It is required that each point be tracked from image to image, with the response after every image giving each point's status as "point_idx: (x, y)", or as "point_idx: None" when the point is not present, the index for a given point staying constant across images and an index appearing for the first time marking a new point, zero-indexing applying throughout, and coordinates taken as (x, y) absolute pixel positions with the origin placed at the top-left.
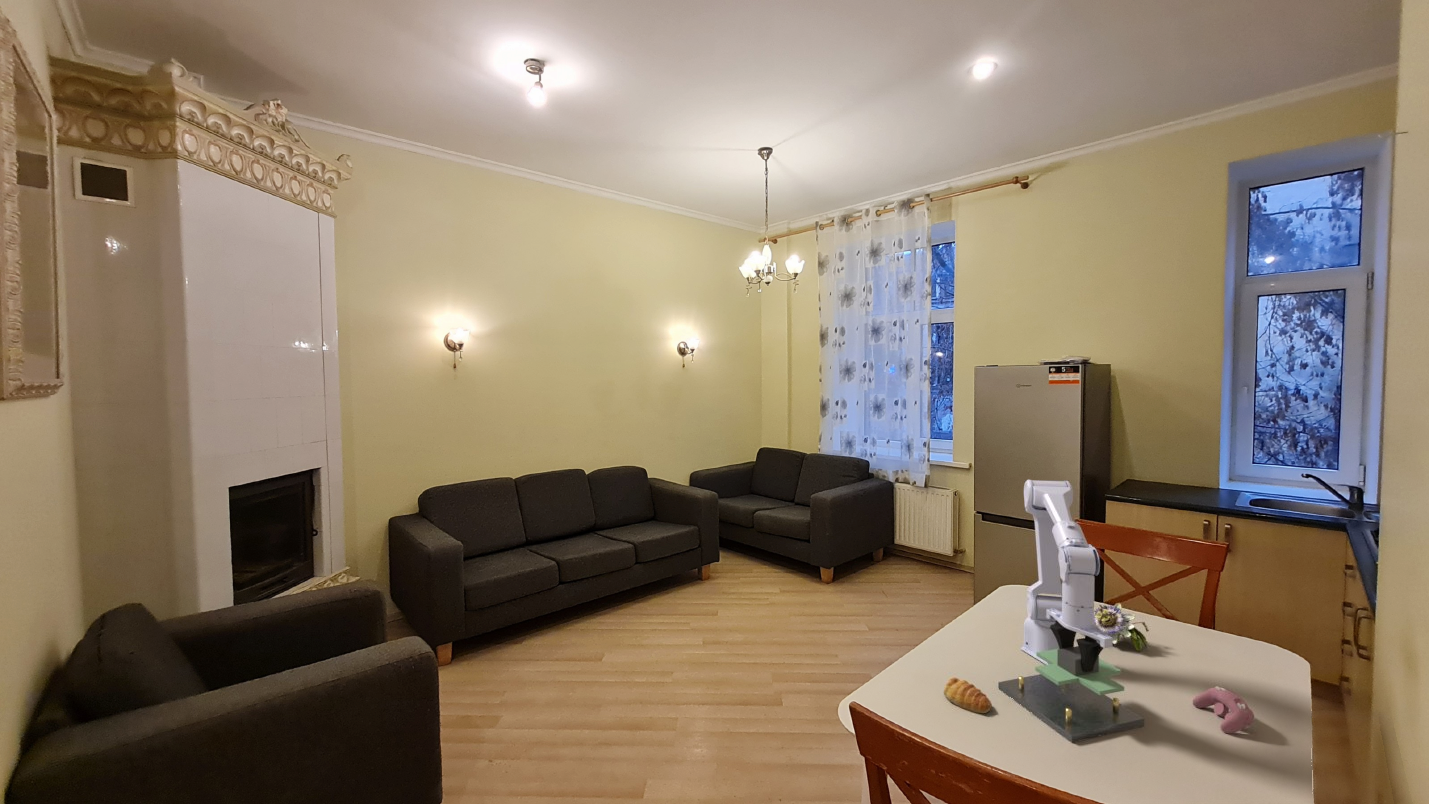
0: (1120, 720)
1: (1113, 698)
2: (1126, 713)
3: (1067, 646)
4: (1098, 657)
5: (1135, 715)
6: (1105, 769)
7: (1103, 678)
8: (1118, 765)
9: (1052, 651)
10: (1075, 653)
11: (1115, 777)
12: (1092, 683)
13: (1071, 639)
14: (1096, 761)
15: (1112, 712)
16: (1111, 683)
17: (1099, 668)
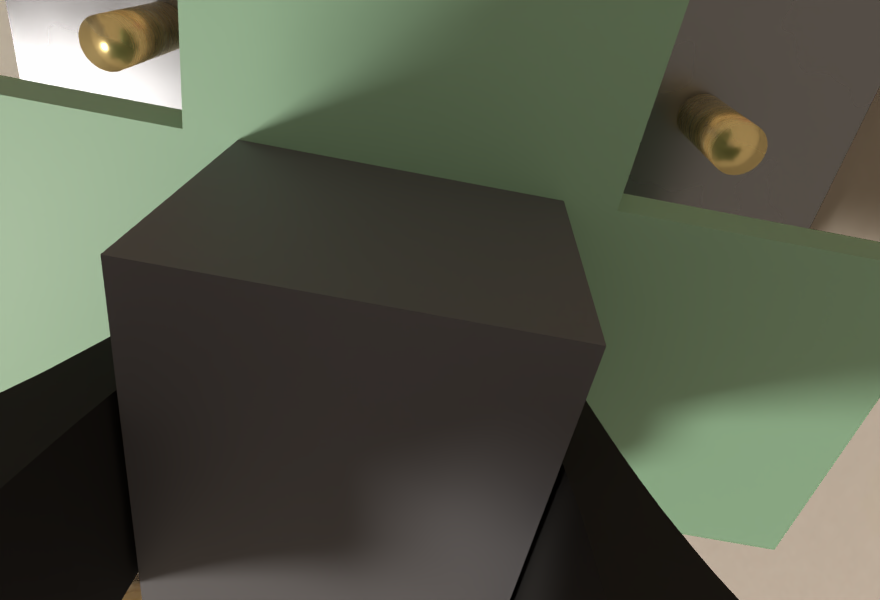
0: (779, 220)
1: (718, 162)
2: (778, 68)
3: (111, 527)
4: (596, 330)
5: (848, 21)
6: (824, 564)
7: (688, 306)
8: (861, 506)
9: None
10: (335, 570)
11: (874, 574)
12: (659, 489)
13: (6, 581)
14: (774, 550)
15: (692, 167)
16: (809, 337)
17: (511, 84)
